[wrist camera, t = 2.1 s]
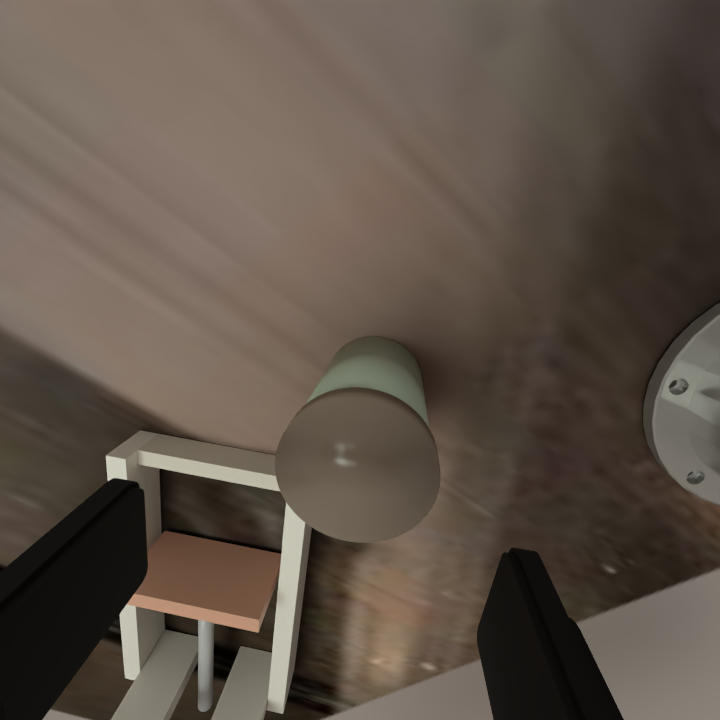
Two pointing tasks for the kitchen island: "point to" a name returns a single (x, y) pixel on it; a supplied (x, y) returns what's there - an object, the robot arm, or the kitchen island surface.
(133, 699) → the frame
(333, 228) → the kitchen island surface
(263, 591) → the pusher
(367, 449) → the jar
